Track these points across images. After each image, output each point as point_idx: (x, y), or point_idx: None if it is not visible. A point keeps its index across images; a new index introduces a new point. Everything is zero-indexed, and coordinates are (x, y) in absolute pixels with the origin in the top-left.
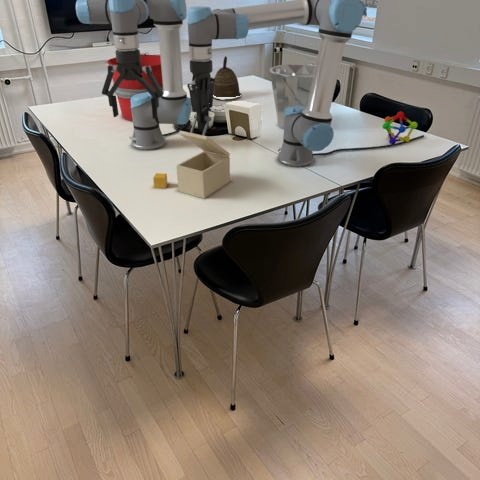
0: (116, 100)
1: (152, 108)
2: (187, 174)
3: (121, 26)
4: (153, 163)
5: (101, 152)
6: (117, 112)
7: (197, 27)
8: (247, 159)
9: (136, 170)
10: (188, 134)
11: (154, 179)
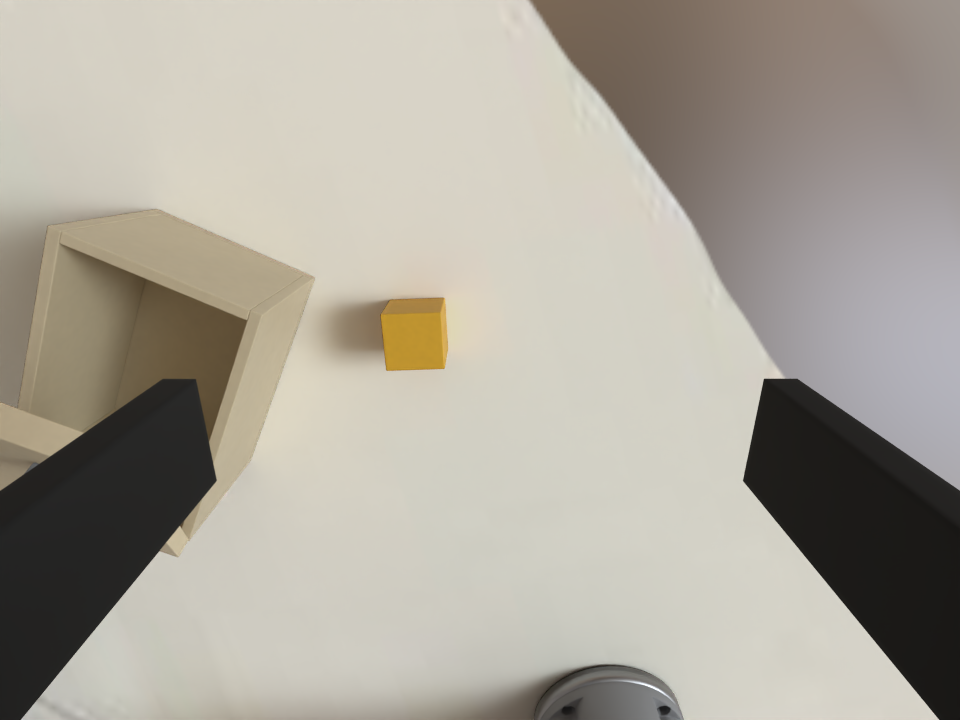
0: (886, 650)
1: (82, 458)
2: (199, 271)
3: None
4: (529, 548)
5: (800, 626)
6: (768, 478)
7: None
8: (126, 629)
9: (588, 470)
10: (10, 418)
11: (435, 309)
